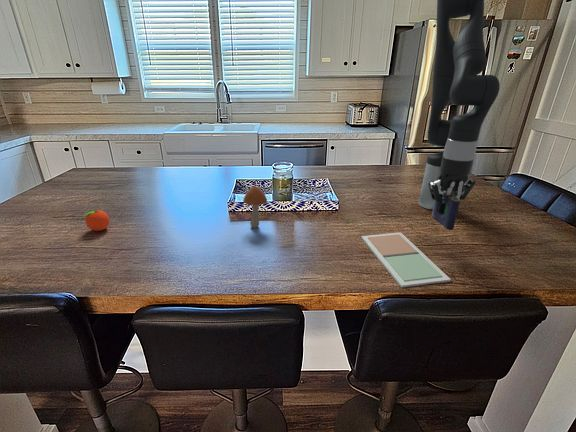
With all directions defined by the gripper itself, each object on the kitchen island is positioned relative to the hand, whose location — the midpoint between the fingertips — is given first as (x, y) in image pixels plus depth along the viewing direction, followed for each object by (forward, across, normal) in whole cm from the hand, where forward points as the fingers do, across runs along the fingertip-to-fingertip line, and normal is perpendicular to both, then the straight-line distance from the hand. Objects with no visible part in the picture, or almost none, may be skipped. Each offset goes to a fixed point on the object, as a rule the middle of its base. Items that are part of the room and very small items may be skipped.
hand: (444, 212), depth 93 cm
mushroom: (+11, +54, -25) cm, 60 cm away
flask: (+3, 0, 0) cm, 3 cm away
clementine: (+11, +106, -32) cm, 112 cm away
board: (+12, +14, +3) cm, 18 cm away
